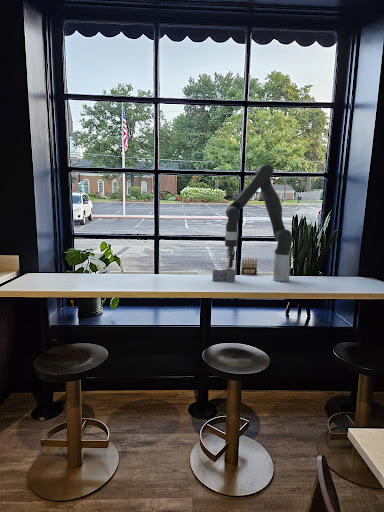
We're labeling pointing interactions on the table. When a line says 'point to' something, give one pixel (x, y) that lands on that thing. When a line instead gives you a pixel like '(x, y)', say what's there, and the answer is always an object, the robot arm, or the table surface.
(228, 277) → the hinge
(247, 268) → the ammunition clip
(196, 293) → the table surface
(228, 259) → the hinge pin
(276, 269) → the robot arm
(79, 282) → the table surface
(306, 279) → the table surface
